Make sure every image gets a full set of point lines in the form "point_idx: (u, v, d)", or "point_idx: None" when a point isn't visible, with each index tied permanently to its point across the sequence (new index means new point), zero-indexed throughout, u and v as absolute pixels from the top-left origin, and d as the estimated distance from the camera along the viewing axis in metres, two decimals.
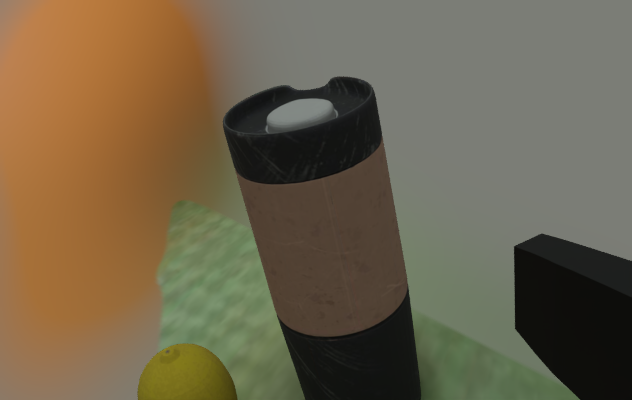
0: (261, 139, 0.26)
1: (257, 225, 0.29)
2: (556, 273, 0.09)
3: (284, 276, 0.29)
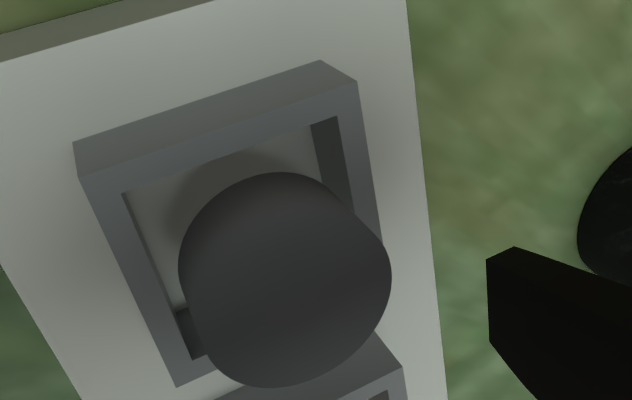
0: None
1: None
2: (526, 288, 0.09)
3: None
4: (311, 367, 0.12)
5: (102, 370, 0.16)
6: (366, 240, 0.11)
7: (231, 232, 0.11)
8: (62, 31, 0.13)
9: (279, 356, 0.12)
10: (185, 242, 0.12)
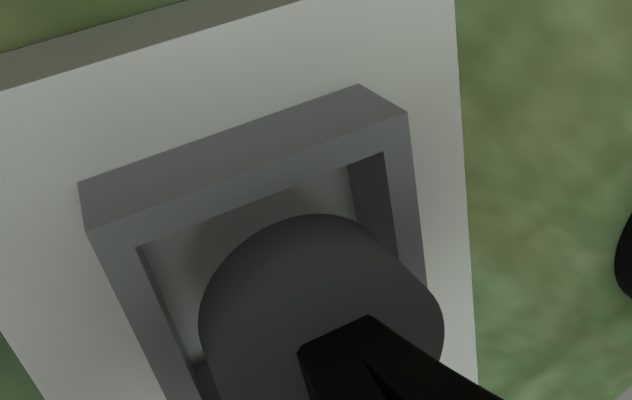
0: None
1: None
2: None
3: None
4: None
5: None
6: (418, 297, 0.10)
7: (264, 292, 0.09)
8: (65, 53, 0.11)
9: None
10: (207, 296, 0.10)
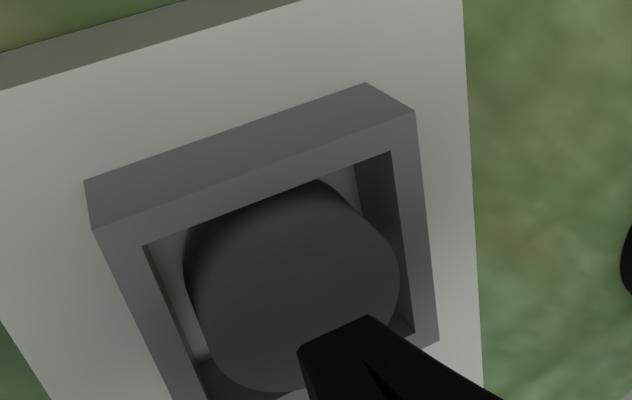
0: None
1: None
2: None
3: None
4: None
5: None
6: (374, 243, 0.11)
7: (237, 236, 0.11)
8: (71, 51, 0.11)
9: (286, 360, 0.12)
10: (191, 244, 0.12)
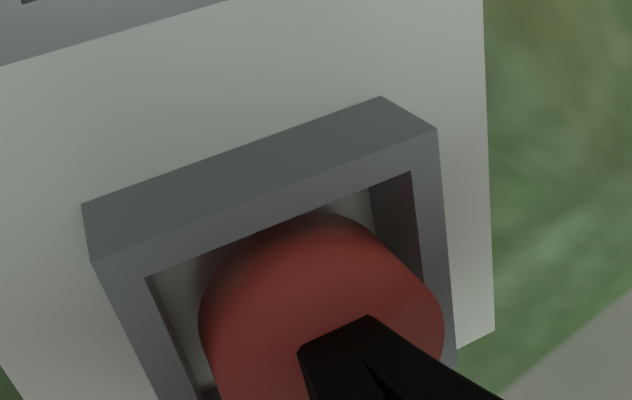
0: None
1: None
2: None
3: None
4: None
5: None
6: None
7: None
8: None
9: None
10: None
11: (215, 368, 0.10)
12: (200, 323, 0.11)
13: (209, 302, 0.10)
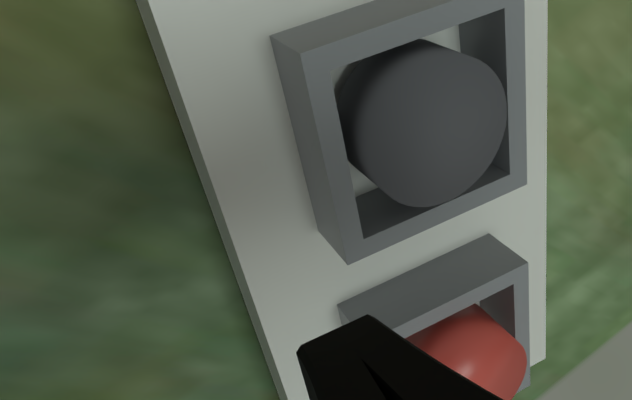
0: None
1: None
2: None
3: None
4: (442, 192, 0.16)
5: (267, 259, 0.17)
6: (491, 81, 0.15)
7: (393, 71, 0.14)
8: None
9: (421, 178, 0.15)
10: (345, 91, 0.15)
11: None
12: None
13: None
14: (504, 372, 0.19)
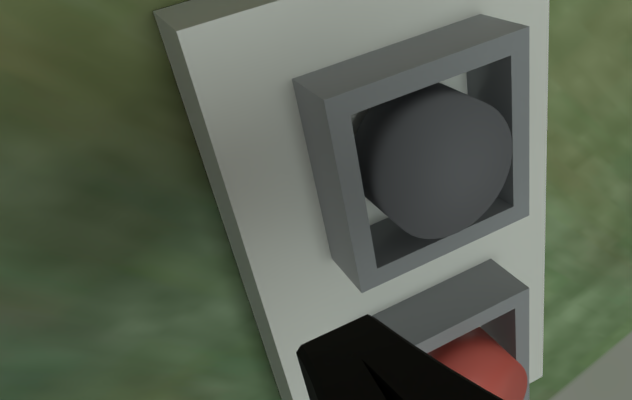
0: None
1: None
2: None
3: None
4: (451, 225, 0.17)
5: (284, 285, 0.18)
6: (499, 123, 0.16)
7: (408, 114, 0.15)
8: None
9: (432, 212, 0.16)
10: (361, 130, 0.16)
11: None
12: None
13: None
14: (506, 392, 0.20)
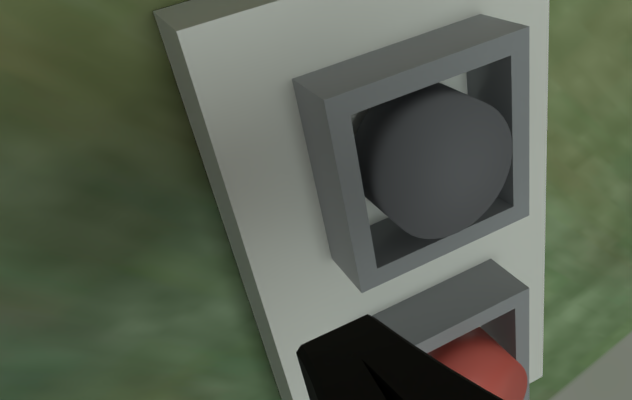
0: None
1: None
2: None
3: None
4: (451, 225, 0.17)
5: (284, 285, 0.18)
6: (499, 123, 0.16)
7: (408, 114, 0.15)
8: None
9: (432, 212, 0.16)
10: (361, 130, 0.16)
11: None
12: None
13: None
14: (506, 392, 0.20)
